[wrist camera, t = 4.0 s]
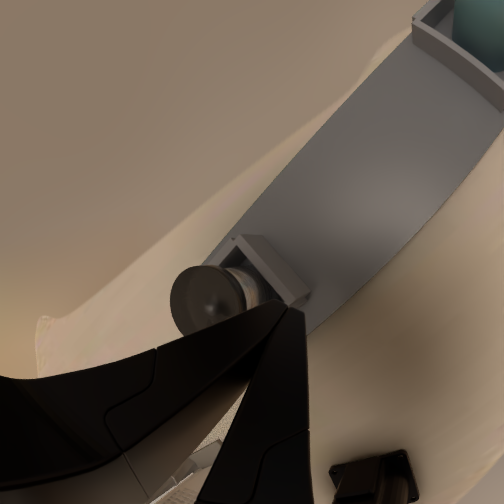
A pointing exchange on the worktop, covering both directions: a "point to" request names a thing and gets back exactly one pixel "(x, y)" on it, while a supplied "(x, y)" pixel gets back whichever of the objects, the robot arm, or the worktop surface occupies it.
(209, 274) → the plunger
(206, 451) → the skyscraper
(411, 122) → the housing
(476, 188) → the worktop surface
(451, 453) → the worktop surface
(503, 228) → the worktop surface
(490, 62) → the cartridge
